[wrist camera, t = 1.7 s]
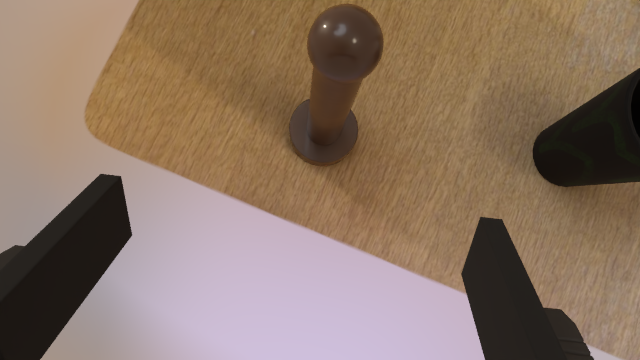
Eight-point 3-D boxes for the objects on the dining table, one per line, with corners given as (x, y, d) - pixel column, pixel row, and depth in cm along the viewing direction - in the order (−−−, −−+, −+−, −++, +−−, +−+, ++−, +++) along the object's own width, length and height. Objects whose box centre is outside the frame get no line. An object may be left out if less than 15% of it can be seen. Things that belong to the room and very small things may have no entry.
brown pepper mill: (278, 149, 36) (263, 55, 18) (305, 91, 37) (316, -53, 19) (339, 176, 36) (384, 108, 18) (365, 118, 37) (432, -3, 19)
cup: (571, 97, 39) (694, 32, 27) (623, 168, 38) (772, 133, 26) (503, 141, 38) (600, 94, 26) (555, 215, 37) (679, 202, 25)
